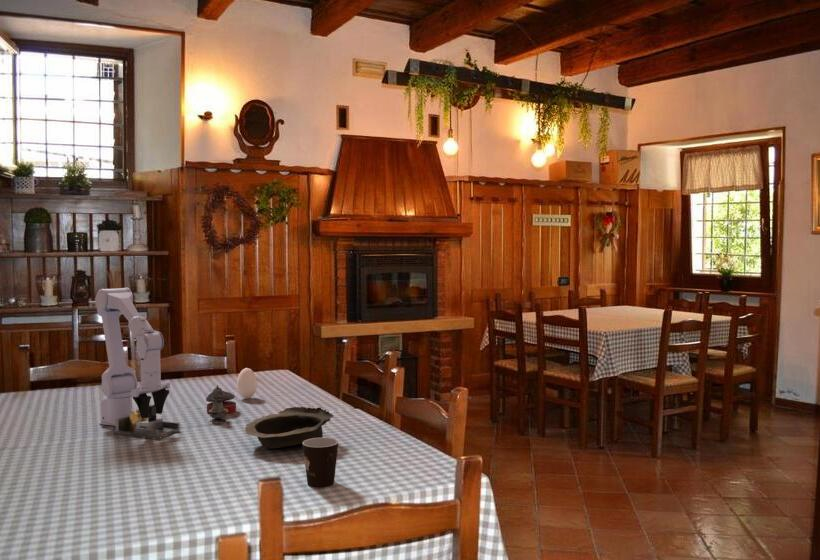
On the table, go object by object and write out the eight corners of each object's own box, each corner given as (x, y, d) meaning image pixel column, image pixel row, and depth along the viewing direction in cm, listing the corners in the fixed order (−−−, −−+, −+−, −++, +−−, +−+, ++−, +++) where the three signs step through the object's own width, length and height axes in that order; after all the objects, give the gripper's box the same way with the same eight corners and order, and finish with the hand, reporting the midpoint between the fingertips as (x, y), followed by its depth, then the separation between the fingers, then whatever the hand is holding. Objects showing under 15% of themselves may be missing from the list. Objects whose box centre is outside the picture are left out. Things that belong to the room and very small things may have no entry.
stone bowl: (345, 436, 211) (344, 406, 210) (307, 467, 188) (306, 433, 187) (273, 428, 219) (272, 399, 218) (227, 457, 196) (225, 425, 195)
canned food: (207, 427, 242) (193, 402, 242) (225, 418, 251) (212, 393, 251) (230, 415, 237) (216, 389, 238) (247, 406, 246) (234, 380, 247)
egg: (261, 398, 267) (260, 367, 267) (247, 401, 261) (246, 370, 261) (247, 396, 271) (246, 365, 271) (232, 399, 265) (232, 368, 265)
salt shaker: (222, 423, 228) (221, 387, 228) (205, 422, 229) (204, 386, 229) (230, 419, 234) (229, 383, 233) (214, 418, 235) (213, 383, 235)
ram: (136, 431, 214) (135, 407, 214) (152, 425, 221) (152, 402, 221) (147, 432, 213) (146, 408, 213) (163, 426, 219) (163, 403, 219)
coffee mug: (304, 478, 173) (303, 438, 173) (339, 476, 174) (338, 437, 174) (300, 494, 162) (300, 451, 161) (338, 493, 163) (337, 450, 162)
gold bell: (126, 429, 217) (126, 410, 217) (137, 425, 222) (137, 406, 222) (139, 430, 216) (139, 411, 215) (150, 426, 220) (150, 407, 220)
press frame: (114, 433, 216) (114, 419, 216) (138, 426, 225) (138, 412, 225) (156, 439, 210) (156, 424, 209) (179, 431, 219) (179, 416, 219)
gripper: (143, 376, 208) (144, 422, 208) (177, 368, 221) (178, 411, 222) (125, 375, 210) (126, 420, 211) (159, 367, 224) (160, 409, 224)
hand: (151, 415), depth 216 cm, fingers open, 5 cm apart
